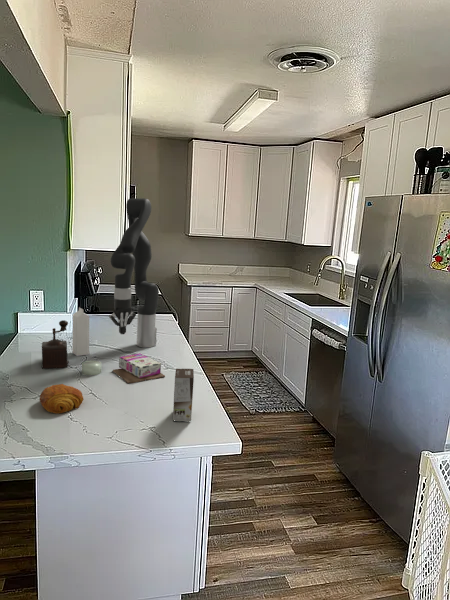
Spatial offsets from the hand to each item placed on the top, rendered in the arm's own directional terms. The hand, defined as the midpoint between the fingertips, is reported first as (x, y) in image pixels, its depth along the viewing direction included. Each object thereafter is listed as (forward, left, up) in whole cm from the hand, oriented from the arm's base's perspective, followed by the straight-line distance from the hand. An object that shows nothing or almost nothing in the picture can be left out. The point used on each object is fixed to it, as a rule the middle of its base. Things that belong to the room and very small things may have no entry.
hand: (122, 333), depth 206 cm
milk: (+13, -17, -13) cm, 25 cm away
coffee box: (+4, +63, -13) cm, 64 cm away
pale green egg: (+17, +9, -13) cm, 24 cm away
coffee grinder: (+27, -9, -13) cm, 32 cm away
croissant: (+38, +35, -13) cm, 53 cm away
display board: (0, +19, -13) cm, 23 cm away
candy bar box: (0, +9, -10) cm, 13 cm away
